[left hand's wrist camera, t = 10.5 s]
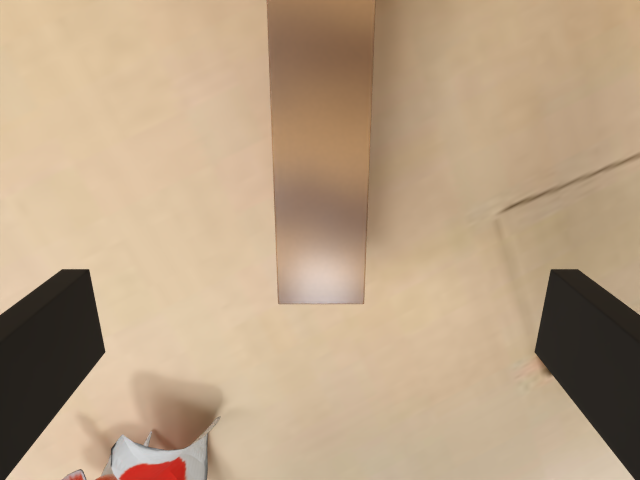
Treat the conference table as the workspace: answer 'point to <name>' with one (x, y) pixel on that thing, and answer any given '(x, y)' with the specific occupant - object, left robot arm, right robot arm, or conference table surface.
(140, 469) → the fish
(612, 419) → the left robot arm
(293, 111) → the bar
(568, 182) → the conference table surface
